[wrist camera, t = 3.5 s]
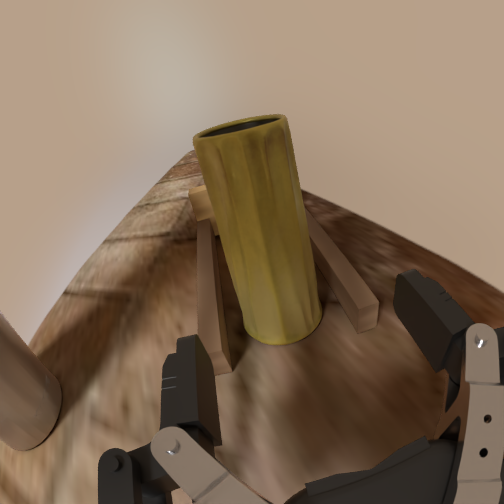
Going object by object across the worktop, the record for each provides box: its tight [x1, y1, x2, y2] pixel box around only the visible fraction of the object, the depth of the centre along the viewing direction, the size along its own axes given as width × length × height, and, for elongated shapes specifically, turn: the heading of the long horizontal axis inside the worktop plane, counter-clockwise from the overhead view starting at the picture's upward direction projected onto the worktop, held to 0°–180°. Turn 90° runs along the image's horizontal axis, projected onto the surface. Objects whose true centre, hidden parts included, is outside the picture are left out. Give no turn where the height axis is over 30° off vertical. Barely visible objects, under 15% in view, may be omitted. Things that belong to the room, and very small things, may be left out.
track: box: [188, 185, 379, 376], centre depth 27 cm, size 12×22×6 cm, turn 10°
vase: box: [193, 114, 322, 345], centre depth 18 cm, size 6×6×14 cm
